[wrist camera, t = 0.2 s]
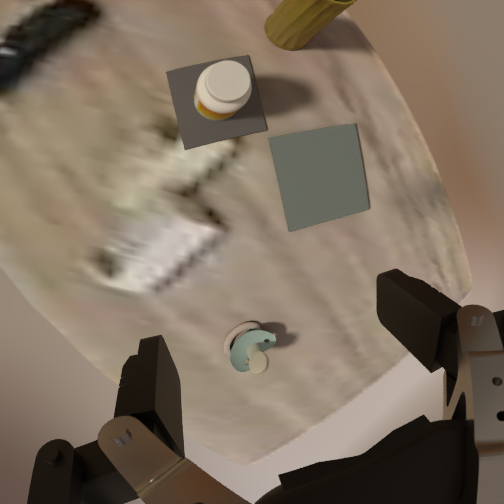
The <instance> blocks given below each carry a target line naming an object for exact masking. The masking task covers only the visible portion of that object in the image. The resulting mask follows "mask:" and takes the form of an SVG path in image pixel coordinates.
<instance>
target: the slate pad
mask: <svg viewBox="0 0 504 504" xmlns="http://www.w3.org/2000/svg"><path fill="white" fill-rule="evenodd" d="M268 139H269V144H270V148H271V152H272V157H273V161H274V166H275V170H276V175H277V179H278V184H279V188H280V193H281V198H282V202H283V207H284V212H285V217H286V221H287V226H288V231H289V232H292V231H295V230H299V229H302V228H306V227H309V226H313V225H316V224H320V223H323V222H327V221H330V220H334V219H337V218H341V217H344V216H348V215H351V214H355V213H359V212H362V211H366V210H369V204H368V197H367V189H366V183H365V176H364V170H363V164H362V158H361V153H360V147H359V142H358V137H357V132H356V127H355V123H354V124H346V125H340V126H333V127H327V128H321V129H315V130H309V131H303V132H298V133H292V134H287V135H282V136H277V137H272V138H268Z"/></svg>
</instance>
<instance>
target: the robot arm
mask: <svg viewBox="0 0 504 504" xmlns="http://www.w3.org/2000/svg"><path fill="white" fill-rule="evenodd" d="M377 315H378V318H379V320H380V322H381V324H382V325H383V326H384V327H385V328H386V329H387V330H388V331H389V332H390V333H391V334H392V335H393V336H394V337H395V338H396V339H397V340H398V341H400V342H401V343H402V344H403V345H404V346H405V347H406V348H407V349H408V350H409V351H410V352H411V353H412V354H413V355H414V356H415V357H416V358H417V359H418V360H419V361H420V362H421V363H422V364H423V365H424V366H425V367H426V368H427V369H428V370H429V371H430V373H432V372H434V371H436V370H438V369H439V368H441V367H443V368H444V369H445V371H444V375H443V387H444V389H443V394H444V396H443V419H442V420H439V421H434V422H429V420H428V419H427V418H426V417H425V415H422V416H420V417H418V418H416V419H415V420H413V421H411V422H409V423H407V424H405V425H403V426H401V427H399V428H397V429H395V430H393V431H392V432H391V433H390V434H388V435H387V436H386V437H385V438H383V439H382V440H381V441H379V442H378V443H377V444H376V445H374V446H373V447H372V448H371V449H369V450H368V451H366V452H365V453H363V454H361V455H358V456H353V457H348V458H343V459H337V460H330V461H324V462H318V463H315V464H312V465H309V466H306V467H303V468H300V469H297V470H293V471H290V472H287V473H283V474H280V475H278V476H279V478H280V482H281V485H279V486H277V487H276V488H274V489H272V490H271V491H269V492H268V493H266V494H265V495H264V496H262V497H261V498H260V499H259V500H258V501H257V502H256V503H255V504H504V310H502V311H498V312H494V313H492V312H491V311H490V310H489V309H487V308H485V307H483V306H480V305H466V306H464V307H461V306H460V305H458V304H457V303H456V302H454V301H453V300H451V299H450V298H448V297H447V296H445V295H444V294H442V293H441V292H438V290H436V289H435V288H433V287H431V286H430V285H429V284H427V283H426V282H424V281H423V280H420V279H417V278H413V277H409V276H408V275H406V274H405V273H403V272H402V271H400V270H398V269H392V270H390V271H387V272H384V273H381V274H379V275H378V276H377ZM119 386H120V388H119V389H118V395H117V401H116V407H115V413H114V419H112V420H110V421H108V422H107V423H106V424H105V425H104V426H103V427H102V428H101V430H100V432H99V434H98V440H96V441H94V442H91V443H88V444H85V445H83V446H80V447H77V448H74V447H73V446H72V445H71V444H70V443H69V442H68V441H66V440H63V439H55V440H52V441H50V442H47V443H46V444H45V445H43V446H42V447H41V449H40V450H39V451H38V453H37V456H36V459H35V464H34V469H33V473H32V478H31V484H30V489H29V495H28V501H27V504H124V503H127V502H129V501H132V500H135V499H138V498H141V499H142V501H143V502H144V503H145V504H251V503H249V502H248V501H246V500H245V499H243V498H242V497H240V496H239V495H237V494H235V493H234V492H233V491H231V490H230V489H228V488H227V487H225V486H224V485H222V484H221V483H220V482H218V481H217V480H216V479H214V478H213V477H211V476H210V475H209V474H207V473H206V472H205V471H203V470H202V469H201V468H199V467H198V466H197V465H196V464H194V463H193V462H192V461H190V460H189V459H187V458H186V457H185V453H184V440H183V425H182V408H181V387H180V379H179V375H178V372H177V369H176V366H175V364H174V362H173V359H172V357H171V355H170V352H169V350H168V348H167V345H166V343H165V340H164V338H163V337H162V335H158V336H153V337H149V338H144V339H141V340H140V344H139V350H138V354H137V355H133V356H130V357H129V358H128V360H127V361H126V363H125V364H124V366H123V368H122V374H121V379H120V384H119ZM182 457H183V458H182Z"/></svg>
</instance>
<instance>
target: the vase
mask: <svg viewBox="0 0 504 504" xmlns="http://www.w3.org/2000/svg"><path fill="white" fill-rule="evenodd" d="M356 1H357V0H283V1H282V2H281V3H280V5H279V6H278V7H277V8H276V10H275V11H274V12H273V14H271V15H270V16H269V17H268V18H267V20H266V22H265V32H266V35H267V37H268V38H269V40H270V41H271V42H272V43H273V44H275V45H276V46H278V47H280V48H282V49H286V50H297V49H300V48H303V47H304V46H305V45H306V44H307V43H308V41H309V40H310V39H311V38H313V37H314V36H315V35H316V34H317V33H318V32H319V31H320V30H321V29H322V28H324V27H325V26H326V25H327V24H328V23H329V22H331V21H332V20H333V19H334V18H335V17H337V16H338V15H339V14H340V13H342V12H343V11H344V10H345V9H346V8H348V7H349V6H350V5H352V4H353V3H354V2H356Z"/></svg>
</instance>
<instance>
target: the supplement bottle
mask: <svg viewBox="0 0 504 504" xmlns="http://www.w3.org/2000/svg"><path fill="white" fill-rule="evenodd" d="M251 90H252V85H251V79H250V75H249V72H248V71H247V69H246V68H245V67H244V66H243V65H242V64H240V63H238V62H236V61H231V60H225V61H221V62H218V63H215V64H213V65H211V66H209V67H207V68H206V69H205V70H204V71H203V72H202V73H201V75H200V77H199V79H198V81H197V85H196V90H195V94H194V103H195V107H196V109H197V111H198V112H199V113H200V114H201V115H202V116H203V117H205V118H207V119H209V120H213V121H220V120H225V119H227V118H229V117H231V116H232V115H233V114H235V113H236V112H237V111H238V110H239V109H240V108H241V107H243V106H244V105H245V104H246V102H247V101H248V99H249V97H250V95H251Z"/></svg>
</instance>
